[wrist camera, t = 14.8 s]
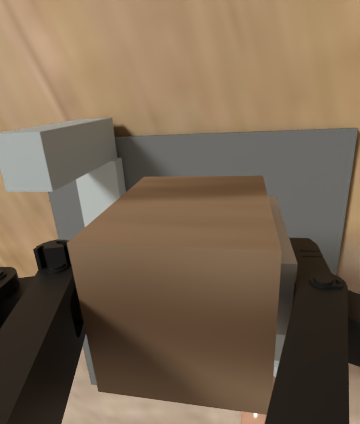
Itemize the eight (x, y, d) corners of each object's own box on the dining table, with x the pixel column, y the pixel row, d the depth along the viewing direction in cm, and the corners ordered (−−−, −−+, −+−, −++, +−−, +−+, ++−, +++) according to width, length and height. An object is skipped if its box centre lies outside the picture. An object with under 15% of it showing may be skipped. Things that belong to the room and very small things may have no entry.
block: (144, 176, 14) (66, 242, 8) (262, 175, 13) (282, 250, 7) (154, 275, 16) (98, 391, 10) (258, 281, 15) (270, 415, 9)
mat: (39, 139, 29) (36, 140, 29) (356, 127, 24) (358, 128, 23) (92, 381, 41) (91, 384, 40) (315, 411, 35) (315, 415, 35)
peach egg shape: (241, 368, 32) (241, 414, 27) (281, 373, 31) (287, 421, 26) (240, 395, 33) (240, 443, 29) (278, 400, 32) (284, 451, 28)
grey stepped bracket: (74, 119, 27) (-16, 134, 18) (116, 117, 26) (46, 131, 17) (107, 307, 34) (56, 387, 25) (141, 309, 34) (101, 394, 24)
